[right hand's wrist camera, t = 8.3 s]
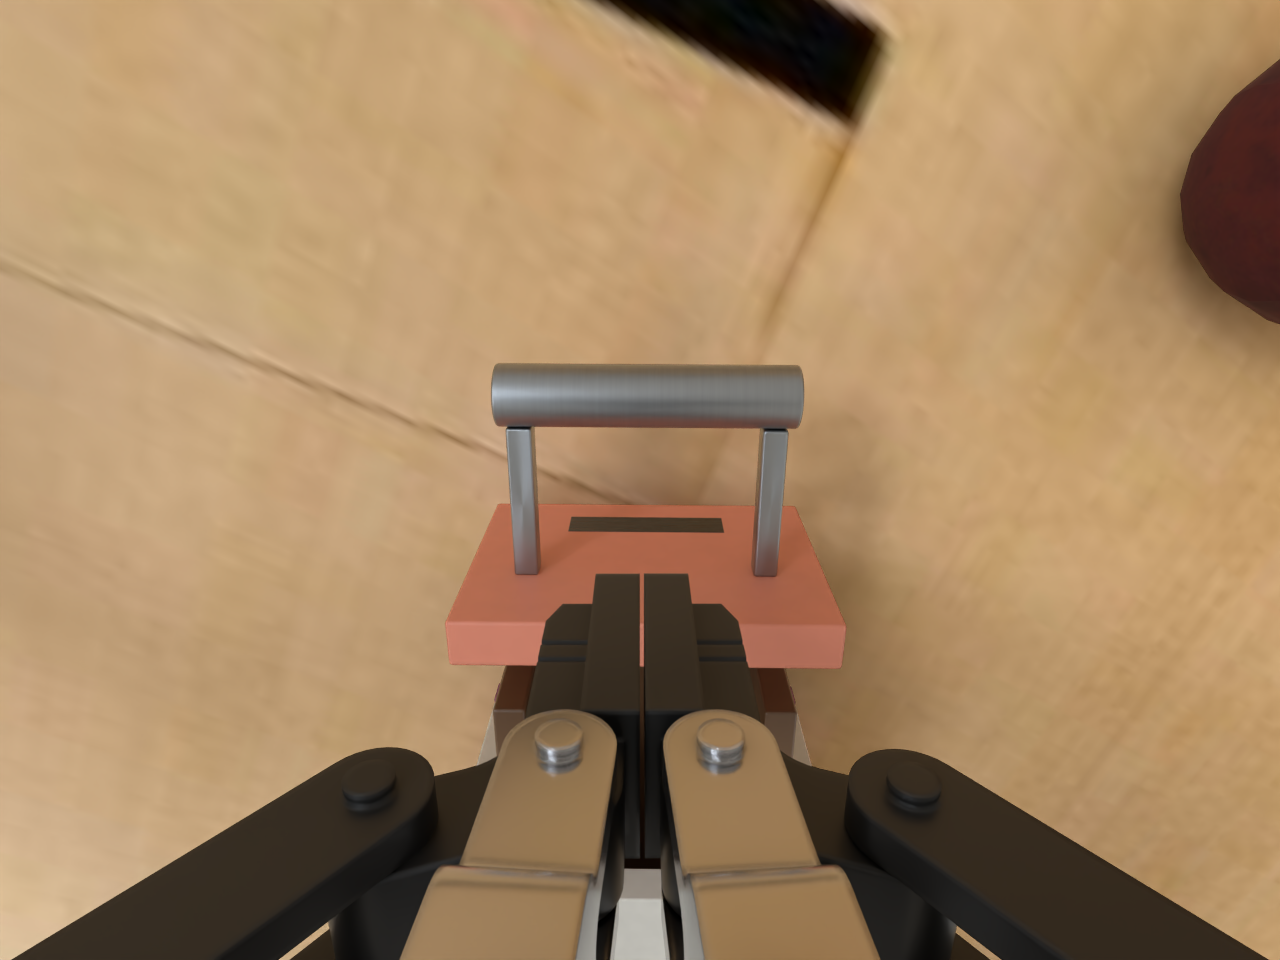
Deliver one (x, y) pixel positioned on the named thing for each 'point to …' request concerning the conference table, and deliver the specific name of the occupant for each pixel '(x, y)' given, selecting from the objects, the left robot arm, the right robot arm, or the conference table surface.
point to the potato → (1239, 197)
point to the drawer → (648, 534)
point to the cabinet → (640, 881)
